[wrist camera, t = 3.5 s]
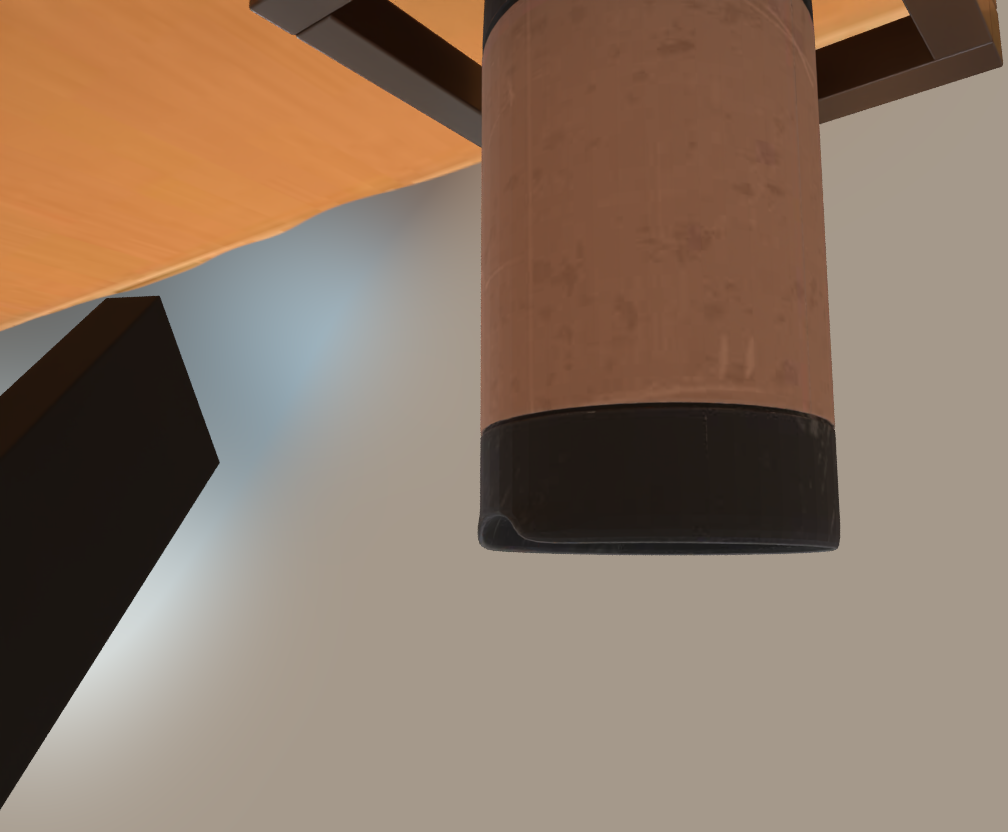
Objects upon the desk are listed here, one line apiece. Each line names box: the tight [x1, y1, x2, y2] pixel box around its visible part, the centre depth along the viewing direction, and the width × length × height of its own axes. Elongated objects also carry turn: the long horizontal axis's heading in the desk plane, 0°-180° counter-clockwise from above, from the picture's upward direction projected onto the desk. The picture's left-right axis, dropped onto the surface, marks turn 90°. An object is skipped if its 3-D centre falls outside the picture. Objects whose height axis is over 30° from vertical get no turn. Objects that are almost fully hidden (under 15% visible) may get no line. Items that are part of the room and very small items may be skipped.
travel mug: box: [478, 0, 840, 555], centre depth 20 cm, size 8×8×20 cm
